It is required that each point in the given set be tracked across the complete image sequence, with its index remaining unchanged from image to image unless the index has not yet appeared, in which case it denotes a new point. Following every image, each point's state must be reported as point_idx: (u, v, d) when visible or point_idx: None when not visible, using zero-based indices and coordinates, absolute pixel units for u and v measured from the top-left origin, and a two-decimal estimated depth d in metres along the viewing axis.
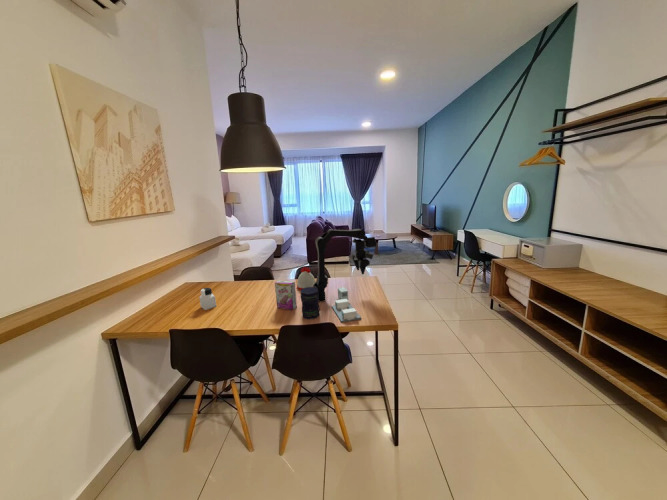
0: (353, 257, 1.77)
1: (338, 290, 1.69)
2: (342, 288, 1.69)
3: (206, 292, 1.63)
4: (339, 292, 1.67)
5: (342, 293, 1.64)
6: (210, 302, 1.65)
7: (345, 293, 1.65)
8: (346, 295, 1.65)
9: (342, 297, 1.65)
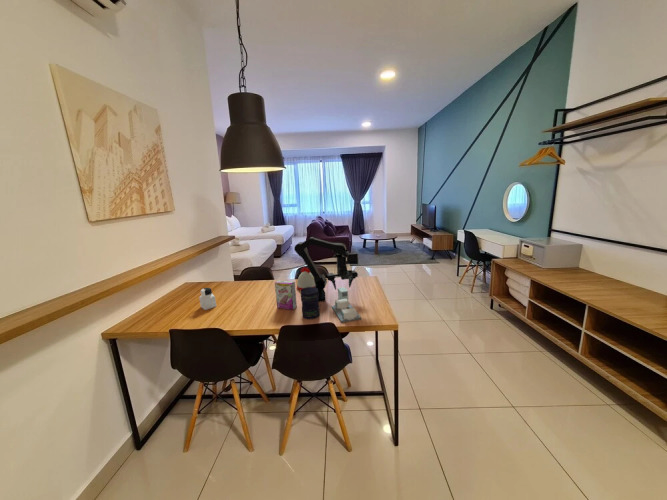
0: None
1: (338, 290, 1.69)
2: (342, 288, 1.69)
3: (206, 292, 1.63)
4: (339, 292, 1.67)
5: (342, 293, 1.64)
6: (210, 302, 1.65)
7: (345, 293, 1.65)
8: (346, 295, 1.65)
9: (342, 297, 1.65)
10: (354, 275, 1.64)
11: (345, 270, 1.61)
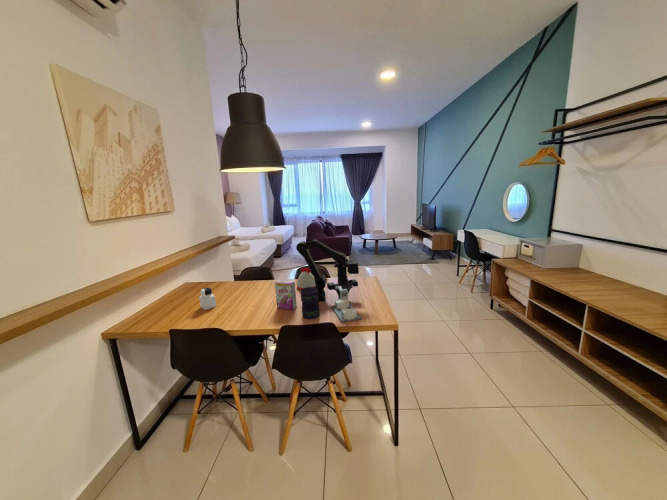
0: None
1: None
2: None
3: (206, 292, 1.63)
4: (339, 292, 1.67)
5: (342, 293, 1.64)
6: (210, 302, 1.65)
7: (345, 293, 1.65)
8: (346, 295, 1.65)
9: (342, 297, 1.65)
10: (354, 284, 1.65)
11: (345, 280, 1.62)
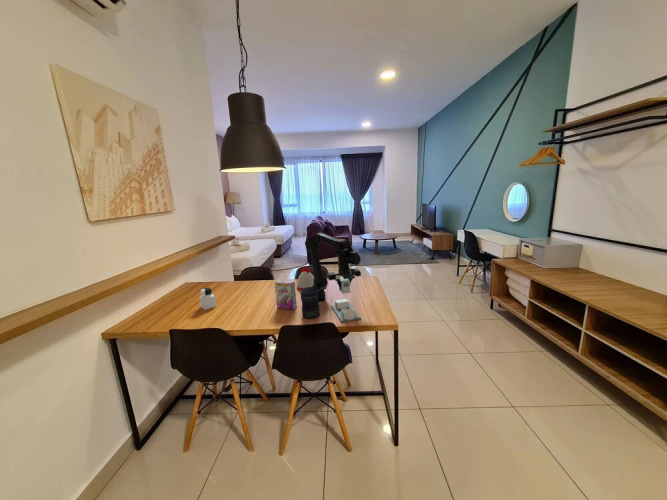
0: None
1: None
2: (343, 278, 1.54)
3: (206, 292, 1.63)
4: None
5: (344, 283, 1.49)
6: (210, 302, 1.65)
7: (346, 284, 1.50)
8: (348, 286, 1.50)
9: (344, 288, 1.50)
10: (357, 274, 1.51)
11: (347, 269, 1.47)
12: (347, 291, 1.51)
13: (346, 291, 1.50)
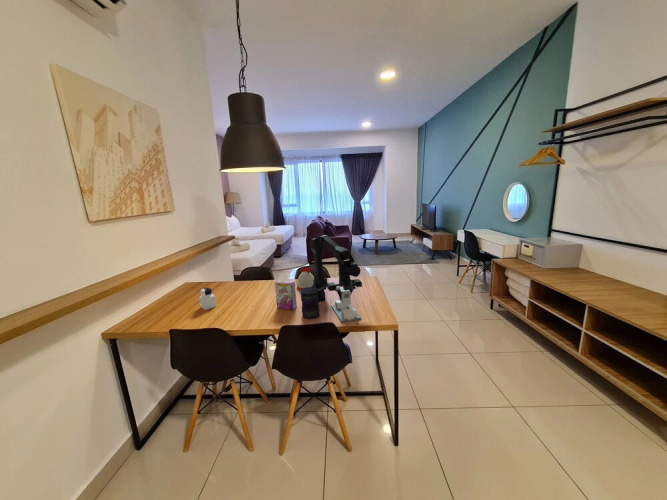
0: None
1: None
2: None
3: (206, 292, 1.63)
4: None
5: (344, 294, 1.45)
6: (210, 302, 1.65)
7: (347, 295, 1.45)
8: (348, 297, 1.46)
9: (344, 299, 1.45)
10: (358, 285, 1.46)
11: (348, 279, 1.43)
12: (347, 302, 1.46)
13: (346, 302, 1.46)
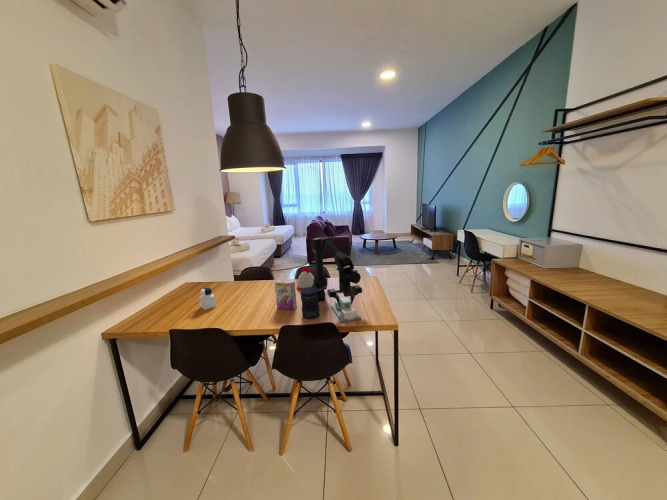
0: None
1: (340, 300, 1.51)
2: (344, 298, 1.51)
3: (206, 292, 1.63)
4: (341, 303, 1.49)
5: (344, 304, 1.46)
6: (210, 302, 1.65)
7: (347, 304, 1.46)
8: (349, 306, 1.47)
9: (344, 308, 1.46)
10: (358, 291, 1.47)
11: (348, 286, 1.43)
12: None
13: None
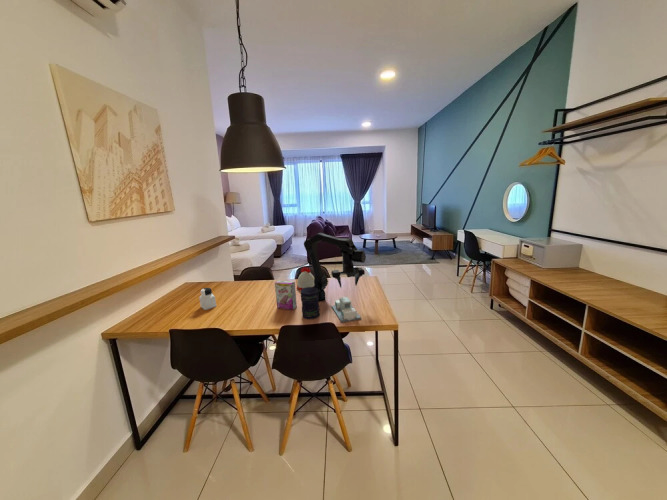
0: None
1: (340, 300, 1.51)
2: (344, 298, 1.51)
3: (206, 292, 1.63)
4: (341, 303, 1.49)
5: (344, 304, 1.46)
6: (210, 302, 1.65)
7: (347, 304, 1.46)
8: (349, 306, 1.47)
9: (344, 308, 1.46)
10: (361, 272, 1.55)
11: (351, 267, 1.51)
12: None
13: None
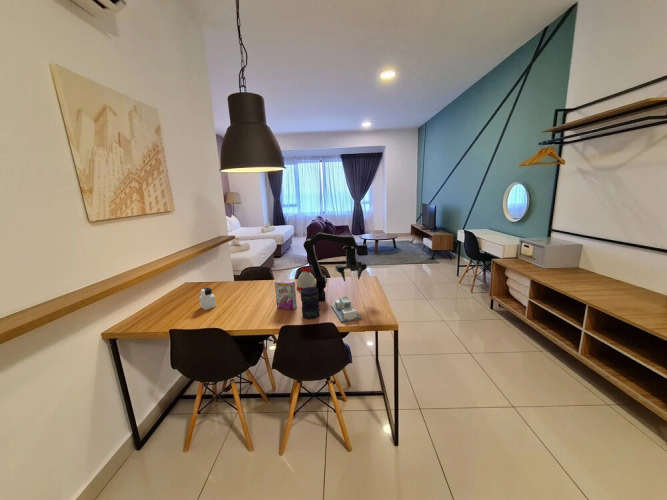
0: None
1: (340, 300, 1.51)
2: (344, 298, 1.51)
3: (206, 292, 1.63)
4: (341, 303, 1.49)
5: (344, 304, 1.46)
6: (210, 302, 1.65)
7: (347, 304, 1.46)
8: (349, 306, 1.47)
9: (344, 308, 1.46)
10: (363, 267, 1.65)
11: (354, 262, 1.61)
12: None
13: None
